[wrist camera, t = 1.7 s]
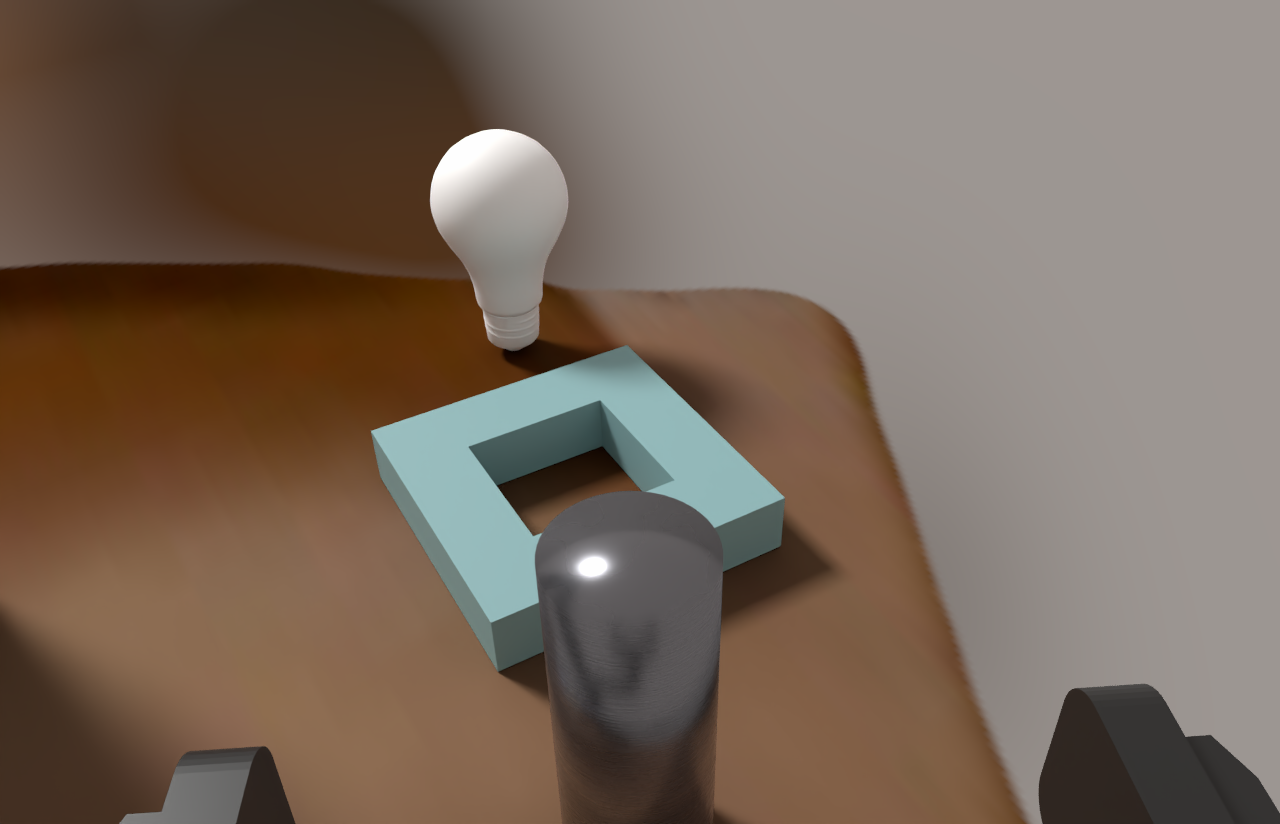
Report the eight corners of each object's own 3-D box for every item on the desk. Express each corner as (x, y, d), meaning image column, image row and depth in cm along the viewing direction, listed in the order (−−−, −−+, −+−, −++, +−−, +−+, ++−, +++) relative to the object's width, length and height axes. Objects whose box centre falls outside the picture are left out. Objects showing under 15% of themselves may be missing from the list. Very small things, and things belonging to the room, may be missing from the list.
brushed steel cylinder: (609, 940, 31) (589, 654, 23) (540, 817, 34) (503, 531, 26) (741, 865, 32) (760, 576, 25) (663, 755, 35) (661, 469, 28)
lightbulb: (600, 356, 53) (590, 141, 47) (487, 398, 51) (460, 178, 44) (538, 301, 58) (521, 97, 51) (431, 338, 55) (398, 128, 48)
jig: (498, 671, 38) (490, 622, 37) (380, 477, 46) (370, 431, 45) (780, 546, 43) (784, 497, 41) (628, 390, 51) (627, 345, 50)
